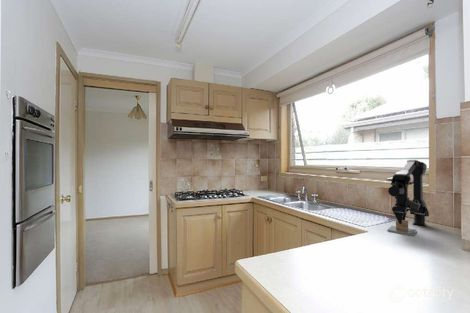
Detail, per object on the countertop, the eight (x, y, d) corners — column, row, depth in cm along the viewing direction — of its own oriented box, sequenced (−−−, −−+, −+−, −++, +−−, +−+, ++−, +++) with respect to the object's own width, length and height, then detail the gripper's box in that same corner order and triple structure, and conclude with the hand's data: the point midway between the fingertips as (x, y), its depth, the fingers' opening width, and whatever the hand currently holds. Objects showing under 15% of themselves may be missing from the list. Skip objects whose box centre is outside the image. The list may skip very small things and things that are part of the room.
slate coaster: (392, 227, 145) (392, 225, 145) (416, 231, 137) (416, 229, 137) (387, 231, 137) (387, 229, 137) (413, 236, 128) (413, 234, 128)
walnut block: (397, 227, 140) (397, 219, 140) (408, 229, 137) (408, 220, 137) (395, 229, 137) (395, 220, 137) (406, 231, 133) (406, 222, 133)
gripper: (416, 198, 125) (416, 228, 124) (421, 194, 138) (421, 221, 138) (391, 196, 132) (391, 224, 132) (398, 193, 146) (398, 218, 145)
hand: (401, 222), depth 137 cm, fingers open, 9 cm apart
